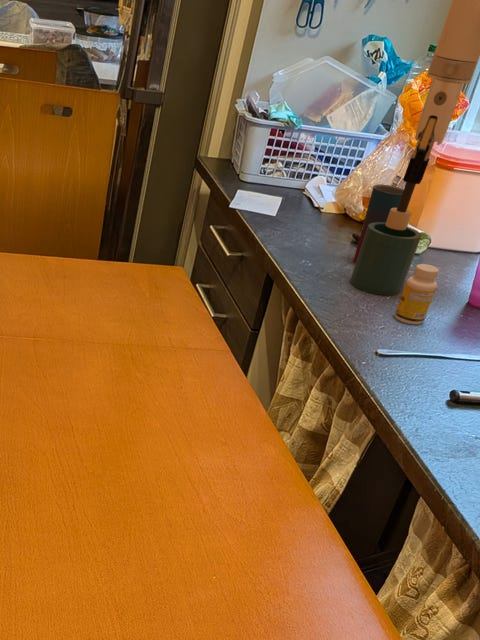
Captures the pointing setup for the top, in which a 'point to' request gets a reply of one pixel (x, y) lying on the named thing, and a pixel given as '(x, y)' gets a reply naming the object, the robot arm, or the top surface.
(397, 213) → the brush
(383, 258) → the jar
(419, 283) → the supplement bottle
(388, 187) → the cup
